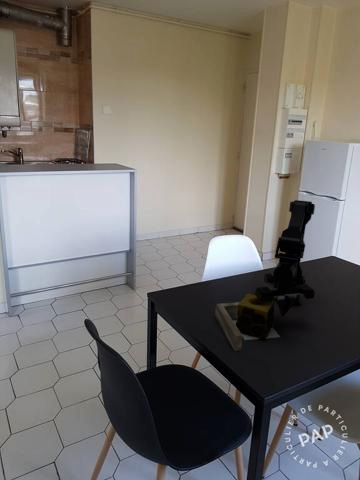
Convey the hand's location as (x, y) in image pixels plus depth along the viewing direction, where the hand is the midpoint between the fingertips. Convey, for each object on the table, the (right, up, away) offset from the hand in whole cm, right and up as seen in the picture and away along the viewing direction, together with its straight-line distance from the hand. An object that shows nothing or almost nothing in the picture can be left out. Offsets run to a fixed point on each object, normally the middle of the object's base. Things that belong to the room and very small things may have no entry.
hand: (282, 316), depth 124 cm
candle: (-10, -4, -1) cm, 11 cm away
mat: (-9, -4, 0) cm, 10 cm away
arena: (-10, -4, -1) cm, 11 cm away
